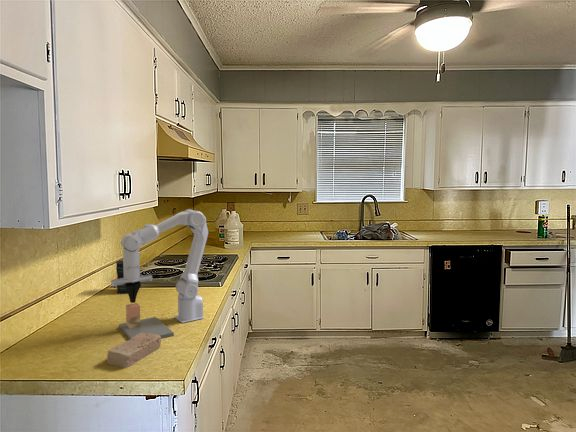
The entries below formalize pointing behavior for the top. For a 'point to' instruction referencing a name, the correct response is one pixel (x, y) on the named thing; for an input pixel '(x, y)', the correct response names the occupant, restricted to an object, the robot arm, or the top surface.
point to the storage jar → (120, 275)
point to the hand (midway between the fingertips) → (132, 302)
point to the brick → (133, 350)
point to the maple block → (133, 322)
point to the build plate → (147, 328)
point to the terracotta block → (133, 310)
